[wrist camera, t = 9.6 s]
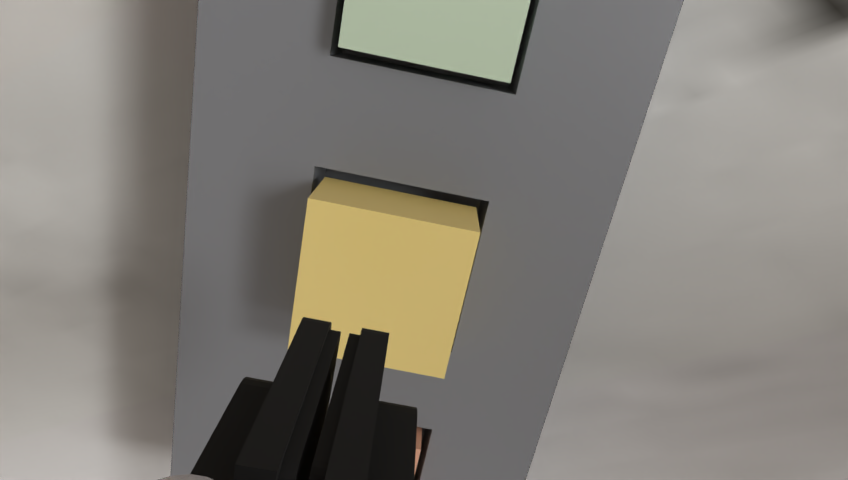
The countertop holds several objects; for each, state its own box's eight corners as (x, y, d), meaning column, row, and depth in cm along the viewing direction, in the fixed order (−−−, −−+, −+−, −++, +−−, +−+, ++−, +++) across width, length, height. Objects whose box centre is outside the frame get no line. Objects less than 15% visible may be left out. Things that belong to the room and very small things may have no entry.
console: (672, -119, 17) (736, -160, 13) (483, 504, 25) (489, 588, 21) (267, -210, 17) (214, -280, 13) (209, 454, 25) (167, 530, 21)
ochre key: (476, 207, 17) (480, 232, 15) (444, 338, 18) (444, 378, 16) (324, 176, 16) (308, 197, 14) (305, 312, 18) (287, 349, 16)
